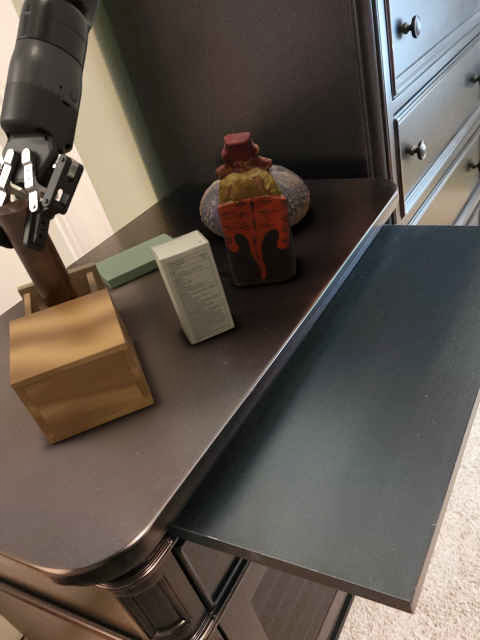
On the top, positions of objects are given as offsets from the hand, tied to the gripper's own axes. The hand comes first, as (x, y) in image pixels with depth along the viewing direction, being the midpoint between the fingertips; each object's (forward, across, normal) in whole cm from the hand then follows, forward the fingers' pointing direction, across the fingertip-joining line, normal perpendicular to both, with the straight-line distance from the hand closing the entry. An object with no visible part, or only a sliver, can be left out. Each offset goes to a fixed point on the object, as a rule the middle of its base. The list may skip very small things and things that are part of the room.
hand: (18, 247), depth 60 cm
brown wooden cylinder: (+4, 0, +7) cm, 8 cm away
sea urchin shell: (-17, +8, +38) cm, 43 cm away
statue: (-5, +16, +27) cm, 32 cm away
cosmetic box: (+5, +16, +16) cm, 24 cm away
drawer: (+8, -2, +12) cm, 15 cm away
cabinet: (+15, +9, +6) cm, 18 cm away
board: (-6, -6, +27) cm, 28 cm away
